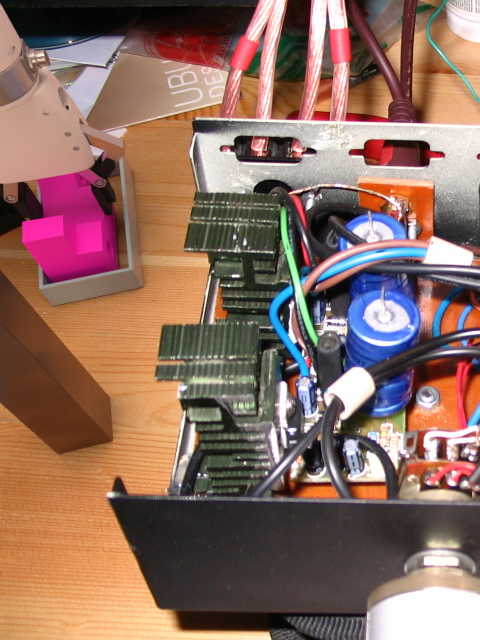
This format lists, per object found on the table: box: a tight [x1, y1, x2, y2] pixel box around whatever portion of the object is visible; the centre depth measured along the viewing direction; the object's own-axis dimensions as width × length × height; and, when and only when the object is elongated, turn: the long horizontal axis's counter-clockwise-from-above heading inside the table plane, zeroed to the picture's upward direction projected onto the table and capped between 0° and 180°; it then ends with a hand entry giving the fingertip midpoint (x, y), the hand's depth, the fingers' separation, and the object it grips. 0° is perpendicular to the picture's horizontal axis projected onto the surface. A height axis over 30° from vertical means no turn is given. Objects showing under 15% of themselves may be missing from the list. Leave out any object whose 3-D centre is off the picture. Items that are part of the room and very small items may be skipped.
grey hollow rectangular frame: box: [36, 153, 144, 307], centre depth 85 cm, size 9×18×3 cm, turn 17°
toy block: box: [21, 172, 120, 283], centre depth 83 cm, size 15×6×8 cm, turn 17°
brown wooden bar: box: [0, 269, 114, 455], centre depth 64 cm, size 5×5×26 cm
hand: (73, 211), depth 84 cm, fingers closed on toy block, 6 cm apart
